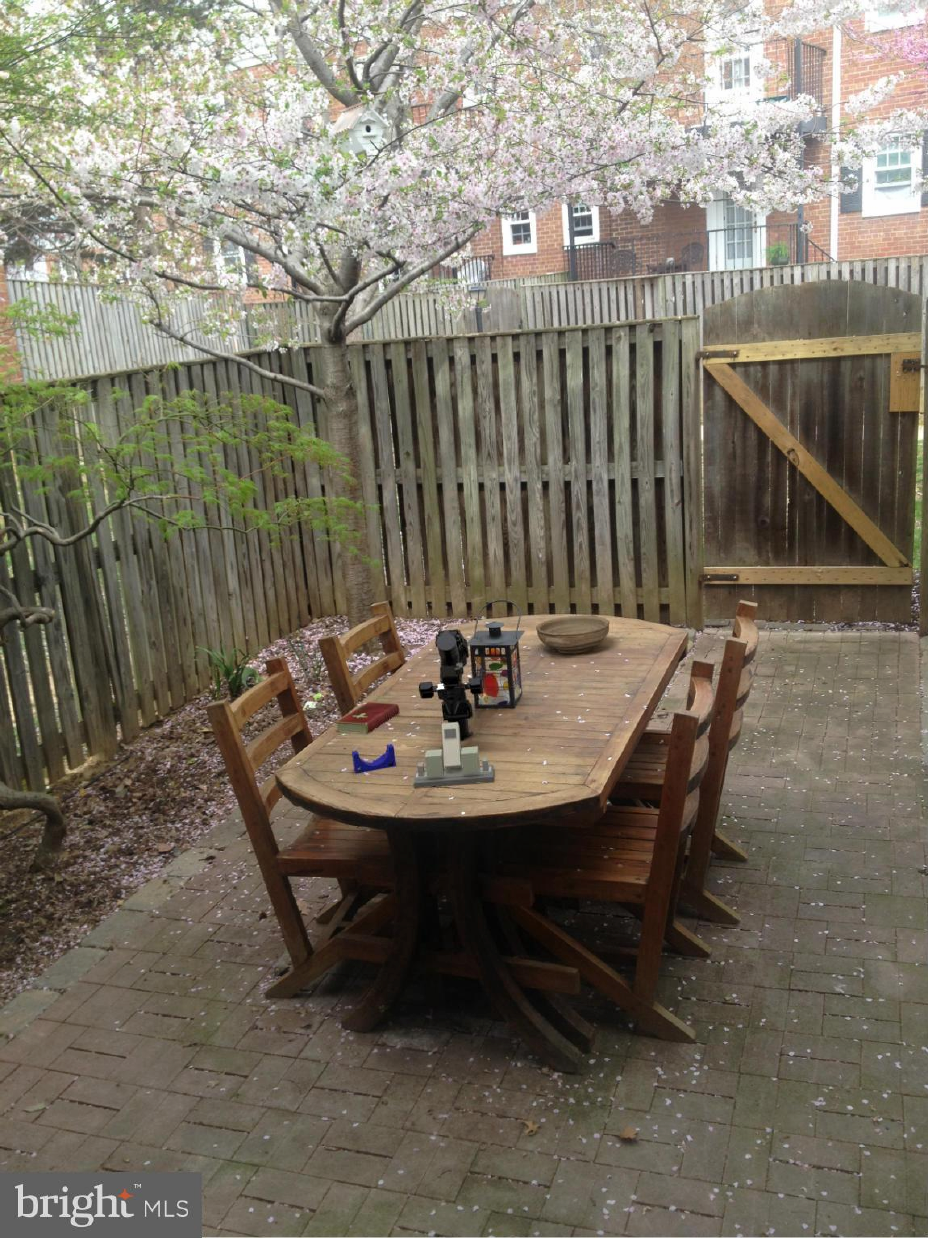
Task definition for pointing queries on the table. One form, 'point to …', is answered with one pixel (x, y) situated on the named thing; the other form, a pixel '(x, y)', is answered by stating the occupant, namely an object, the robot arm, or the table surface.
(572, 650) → the ceramic bowl
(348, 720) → the hardcover book
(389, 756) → the blue cradle stand
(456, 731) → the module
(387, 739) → the table surface
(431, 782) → the rail board
